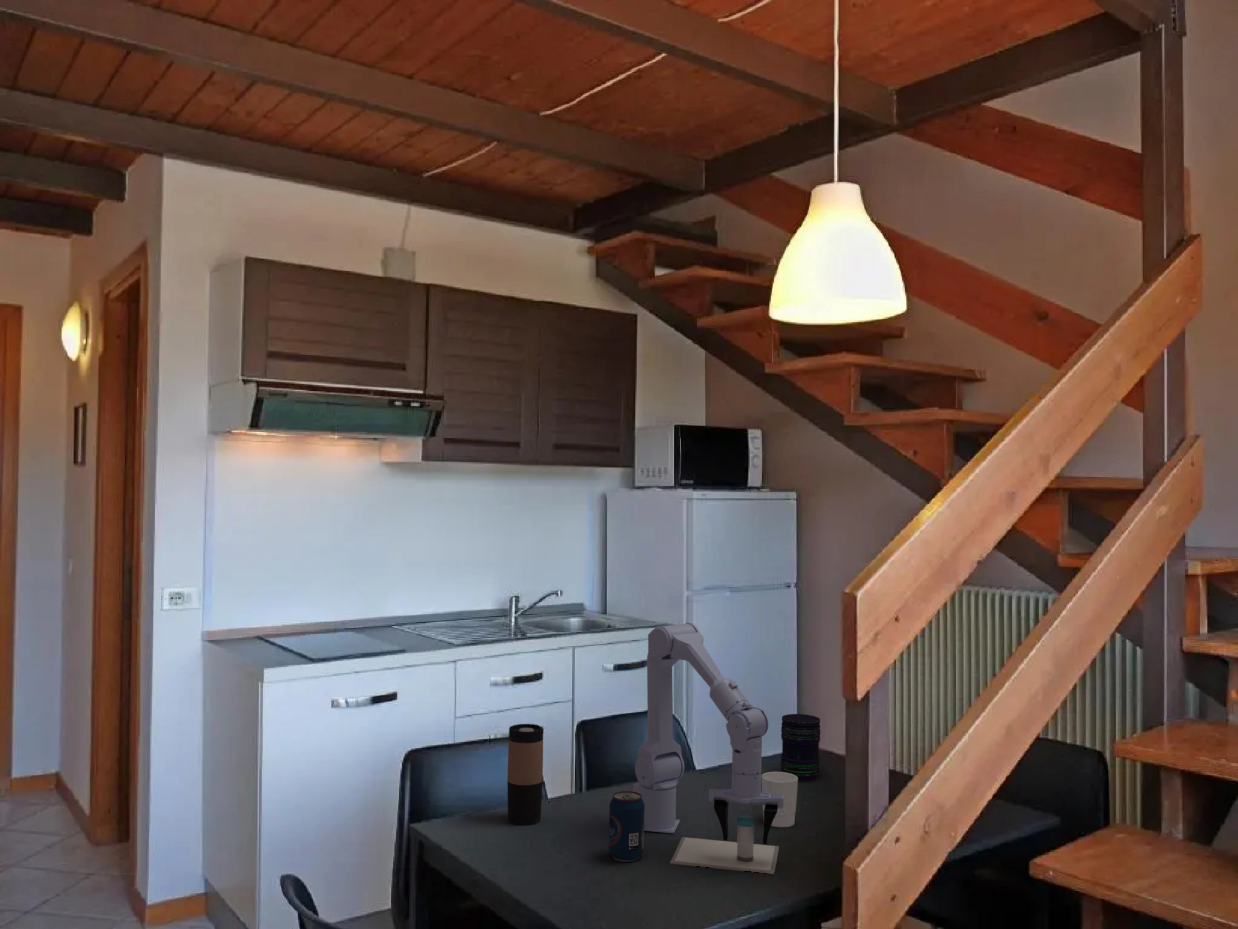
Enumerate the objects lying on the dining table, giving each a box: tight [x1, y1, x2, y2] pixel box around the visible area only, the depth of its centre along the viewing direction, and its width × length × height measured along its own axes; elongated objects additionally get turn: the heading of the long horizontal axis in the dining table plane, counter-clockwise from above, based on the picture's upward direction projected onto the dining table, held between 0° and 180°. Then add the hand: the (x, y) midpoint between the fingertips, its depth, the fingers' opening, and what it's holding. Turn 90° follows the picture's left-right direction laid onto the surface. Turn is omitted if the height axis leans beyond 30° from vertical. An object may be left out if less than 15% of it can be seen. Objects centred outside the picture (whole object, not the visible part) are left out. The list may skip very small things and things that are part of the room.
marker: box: [736, 814, 755, 862], centre depth 195 cm, size 3×3×8 cm
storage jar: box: [780, 713, 821, 784], centre depth 254 cm, size 10×10×15 cm
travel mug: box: [506, 723, 544, 826], centre depth 217 cm, size 8×8×20 cm
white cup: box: [761, 771, 799, 828], centre depth 219 cm, size 8×8×10 cm
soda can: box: [608, 790, 645, 863], centre depth 197 cm, size 7×7×12 cm
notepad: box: [669, 836, 780, 875], centre depth 198 cm, size 20×15×1 cm
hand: (745, 841), depth 195 cm, fingers open, 7 cm apart
